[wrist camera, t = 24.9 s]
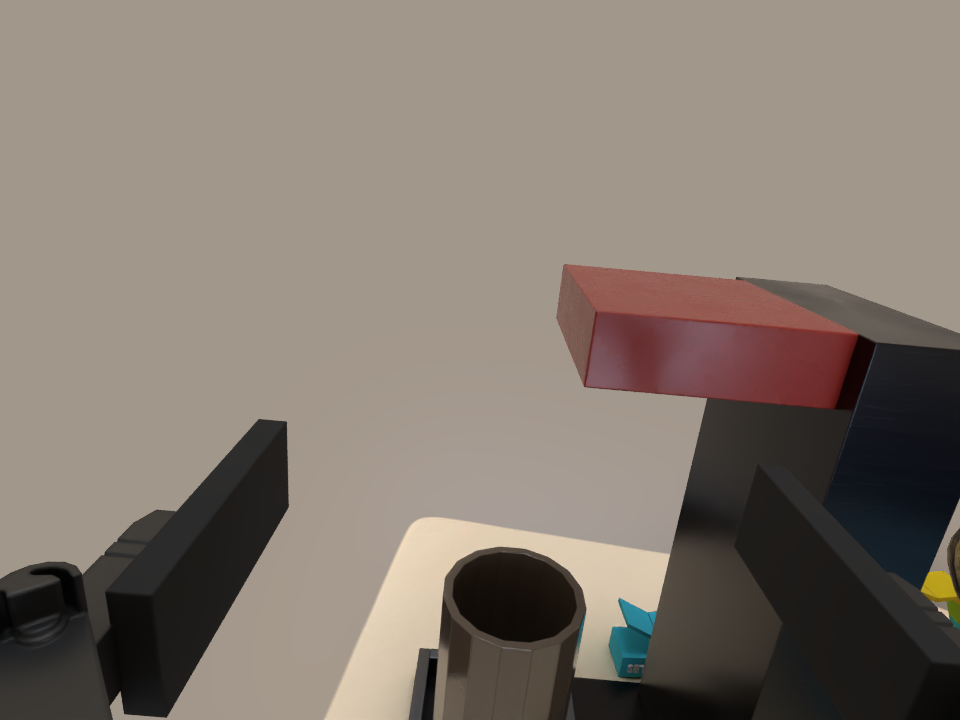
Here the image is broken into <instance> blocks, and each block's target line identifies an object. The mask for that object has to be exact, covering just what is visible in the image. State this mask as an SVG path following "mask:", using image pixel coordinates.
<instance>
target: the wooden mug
mask: <svg viewBox="0 0 960 720" xmlns="http://www.w3.org/2000/svg"><path fill="white" fill-rule="evenodd" d="M947 560H948V567H949V571H950V576H951V580H952V583H953V587H954V590H955V592H956V595H957V597H958V599H959V601H960V529H958V531H957V532H956V533H955V534H954V535H953V537H952V538H951V540H950V543H949V546H948V548H947Z"/></svg>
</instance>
